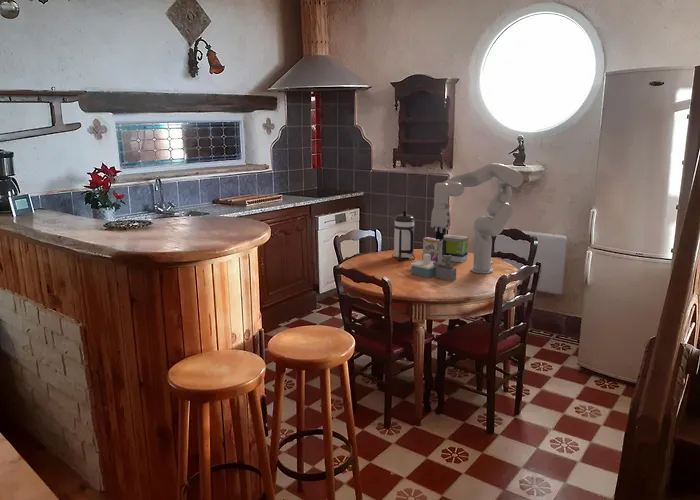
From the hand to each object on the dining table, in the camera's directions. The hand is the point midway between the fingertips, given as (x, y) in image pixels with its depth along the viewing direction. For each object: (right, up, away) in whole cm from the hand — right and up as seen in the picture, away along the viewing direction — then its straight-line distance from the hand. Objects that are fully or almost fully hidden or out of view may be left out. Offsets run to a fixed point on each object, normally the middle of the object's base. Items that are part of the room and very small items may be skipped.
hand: (439, 239), depth 298 cm
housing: (-1, -20, +6) cm, 21 cm away
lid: (-6, -14, +9) cm, 18 cm away
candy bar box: (0, -15, +27) cm, 31 cm away
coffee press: (-15, -11, +43) cm, 47 cm away
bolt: (+2, -15, +1) cm, 15 cm away
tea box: (+15, -12, +41) cm, 45 cm away
